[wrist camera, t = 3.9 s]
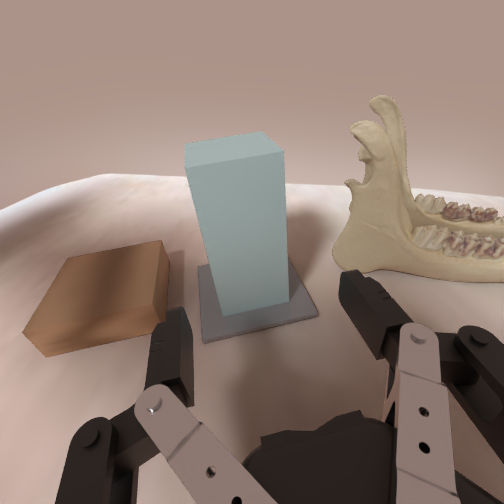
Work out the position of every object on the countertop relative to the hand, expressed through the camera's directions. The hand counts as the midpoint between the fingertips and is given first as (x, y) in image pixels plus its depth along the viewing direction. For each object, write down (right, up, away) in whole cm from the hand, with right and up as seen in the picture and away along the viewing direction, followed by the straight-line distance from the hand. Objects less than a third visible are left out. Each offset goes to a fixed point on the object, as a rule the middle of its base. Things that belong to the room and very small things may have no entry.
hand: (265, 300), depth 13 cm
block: (-1, -1, +10) cm, 10 cm away
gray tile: (-1, -1, +11) cm, 11 cm away
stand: (-13, -2, +11) cm, 17 cm away
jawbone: (+20, +1, +10) cm, 23 cm away
